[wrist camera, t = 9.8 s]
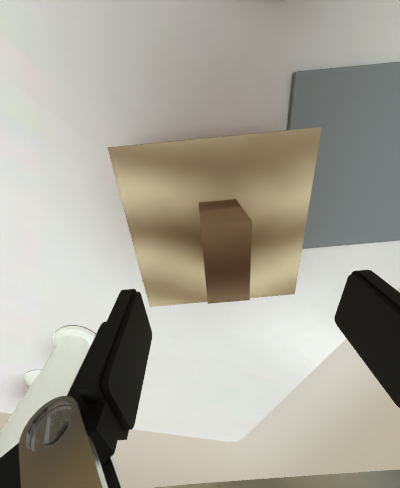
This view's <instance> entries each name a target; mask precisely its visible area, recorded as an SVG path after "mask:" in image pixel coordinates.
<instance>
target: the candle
mask: <svg viewBox="0 0 400 488" xmlns="http://www.w3.org/2000/svg"><path fill="white" fill-rule="evenodd" d="M95 336H96V334H95V333H93V332H92V331H90V330H89V329H86V328H84V327H80V326H65V327H62V328H60V329H59V330H57V331H56V333H55V334H54V335H53V338H52V342H53V345H54V347H55V350H54V351H53V353H52V354H51V356H50V357H49V359H48V360H47V362H46V363H45V365H44V366H43V368H42V369H41V371H40V373H39V374H38V376H37V377H36V379H35V380H34V382H33V383H32V385H31V386H30V388H29V389H28V391H27V392H26V394H25V395H24V397H23V398H22V400H21V401H20V403H19V404H18V406H17V408H16V409H15V411H14V412H13V414H12V415H11V417H10V418H9V420H8V421H7V423H6V425H5V426H4V427H3V429H2V430H1V432H0V457H2V456H3V455H4V454H5V453H7V452H8V451H9V450H10V449H12V448H13V447H14V446H15V445H16V444H18V443H19V441H20V437H21V434H22V432H23V429H24V427H25V426H26V424H27V423H28V421H29V420H30V418H31V417H32V416H33V415H34V414H35V413H36V411H37V410H38V409H40V408H41V407H42V406H43V405H44V404H46V403H47V402H49V401H51V400H52V399H54V398H57V397H60V396H67V394H68V392H69V390H70V388H71V386H72V384H73V382H74V380H75V377H76V375H77V373H78V371H79V369H80V367H81V365H82V363H83V361H84V359H85V357H86V355H87V353H88V350H89V348H90V346H91V344H92V342H93V340H94V338H95Z"/></svg>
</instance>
